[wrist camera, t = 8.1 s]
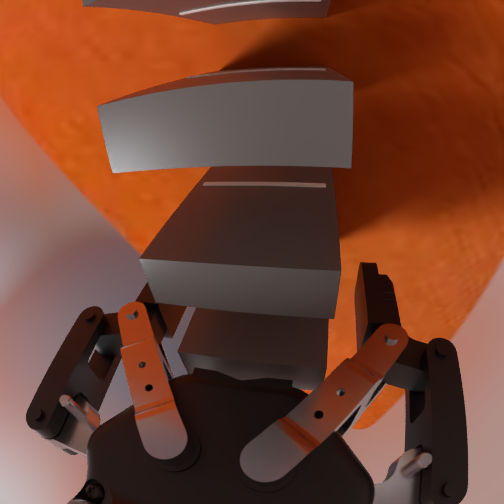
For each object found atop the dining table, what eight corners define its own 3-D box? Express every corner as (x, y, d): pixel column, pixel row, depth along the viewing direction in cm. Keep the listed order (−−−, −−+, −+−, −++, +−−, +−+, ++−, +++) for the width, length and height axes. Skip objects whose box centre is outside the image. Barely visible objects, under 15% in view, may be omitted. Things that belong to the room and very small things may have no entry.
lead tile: (236, 216, 17) (177, 350, 10) (328, 219, 16) (326, 367, 9) (239, 241, 18) (189, 375, 11) (326, 245, 17) (321, 391, 10)
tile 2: (227, 147, 15) (138, 257, 8) (329, 147, 14) (341, 269, 7) (231, 177, 16) (155, 303, 9) (329, 179, 15) (333, 320, 8)
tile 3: (218, 69, 12) (96, 103, 5) (328, 65, 11) (353, 78, 4) (222, 103, 13) (113, 175, 6) (329, 100, 12) (350, 170, 5)
